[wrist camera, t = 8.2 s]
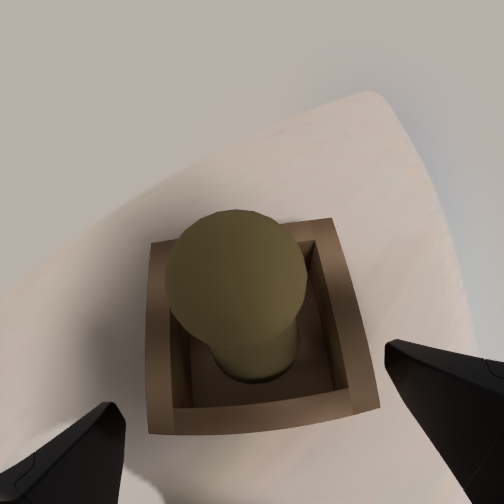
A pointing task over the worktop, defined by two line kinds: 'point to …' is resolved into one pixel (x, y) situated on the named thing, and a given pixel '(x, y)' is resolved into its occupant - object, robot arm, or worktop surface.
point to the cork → (239, 292)
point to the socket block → (278, 390)
